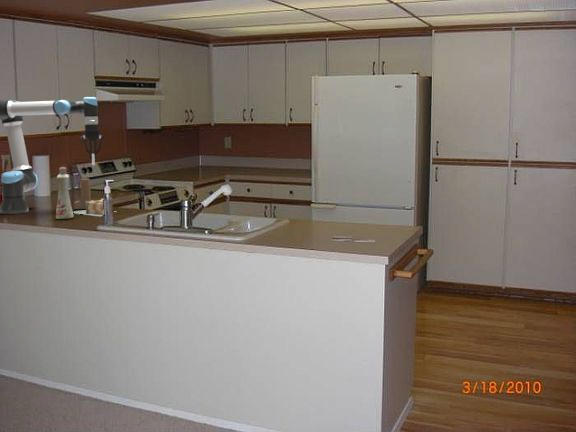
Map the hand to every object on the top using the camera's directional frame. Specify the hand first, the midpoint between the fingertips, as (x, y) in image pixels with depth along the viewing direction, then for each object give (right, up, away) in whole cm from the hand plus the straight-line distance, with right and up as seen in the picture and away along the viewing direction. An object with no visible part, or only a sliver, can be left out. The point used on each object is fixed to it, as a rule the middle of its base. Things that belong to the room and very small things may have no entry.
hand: (93, 165), depth 404 cm
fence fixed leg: (+6, -29, -18) cm, 35 cm away
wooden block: (-8, -26, +7) cm, 28 cm away
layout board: (+4, -28, -10) cm, 30 cm away
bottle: (-7, -31, -30) cm, 44 cm away
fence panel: (+4, -27, -8) cm, 29 cm away
